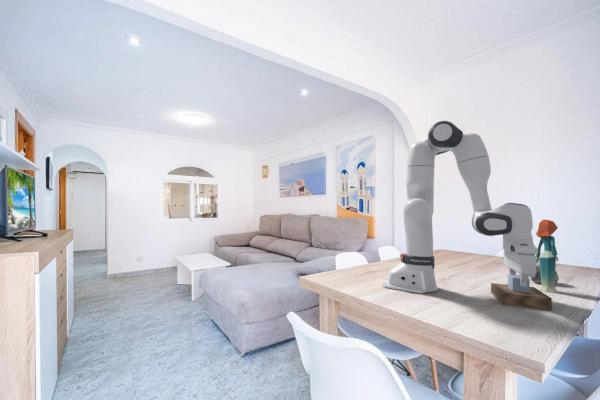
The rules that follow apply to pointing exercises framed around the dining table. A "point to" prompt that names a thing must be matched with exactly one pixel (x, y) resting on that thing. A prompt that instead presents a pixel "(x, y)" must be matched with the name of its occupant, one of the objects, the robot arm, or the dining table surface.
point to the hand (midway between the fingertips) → (518, 282)
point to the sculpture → (547, 255)
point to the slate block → (517, 284)
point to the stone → (537, 276)
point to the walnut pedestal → (521, 297)
